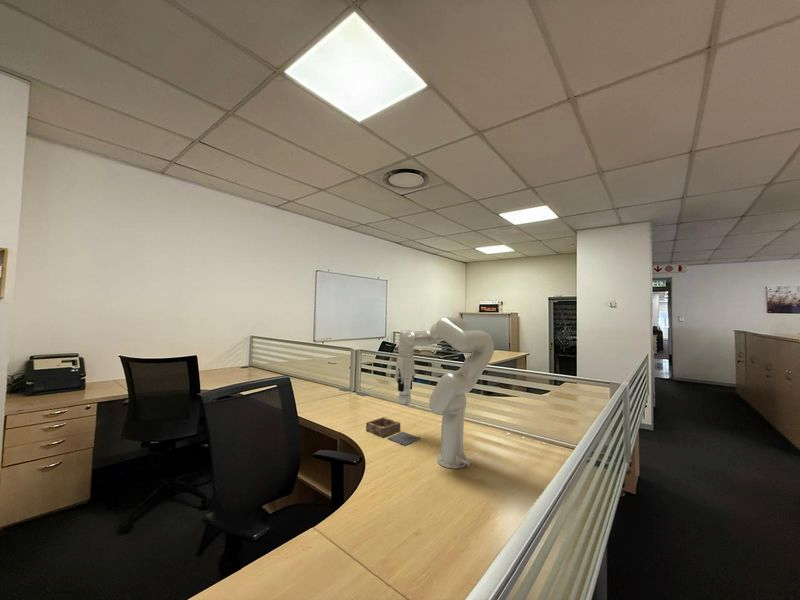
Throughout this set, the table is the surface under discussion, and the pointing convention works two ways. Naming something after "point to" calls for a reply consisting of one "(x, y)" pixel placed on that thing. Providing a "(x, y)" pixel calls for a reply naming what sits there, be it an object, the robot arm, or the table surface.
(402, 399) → the plastic bottle
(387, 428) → the box
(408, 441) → the mat
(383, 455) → the table surface
